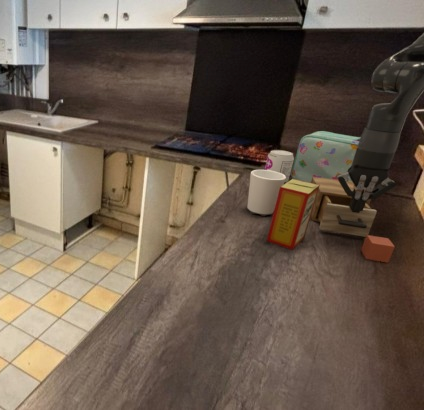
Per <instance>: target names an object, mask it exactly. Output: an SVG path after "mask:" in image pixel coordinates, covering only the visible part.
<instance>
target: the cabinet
mask: <svg viewBox="0 0 424 410" xmlns="http://www.w3.org/2000/svg"><path fill="white" fill-rule="evenodd" d="M311 183H313V184H318V185H320V186H319V189H318V193H317V196H316V200H315V203H314V206H313V210H312V213H311V216H310V219H311V221H313V222H319V223H320V221H319V219H318V217H317V212H318V209H319V205H320V202H321V199H322V196H323V194H325V195H332V196H340V197H347V198H352V197H351V196H348V195H347V194H346V192H345V191H344V189H343V188H342V186H341V184H340V183H339V181H338V180H335V179H326V178H318V177H312V181H311ZM346 183H347V184H348V186H349V188H350V189H351V190H352V191H353V185H354V183H353V182H351V181H347V182H346ZM371 201H372V199H368V200H367V201H366V203H367V204H368V206H369V207H370V204H371Z"/></svg>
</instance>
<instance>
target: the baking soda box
mask: <svg viewBox="0 0 424 410" xmlns="http://www.w3.org/2000/svg"><path fill="white" fill-rule="evenodd" d="M319 186H320V185H318V184H313V183H309V182H305V181H300V180H296V179H293V178H292V179H289V180H288V182H287V183H286V184H284V185H282V186H281V187H280V190H279V194H278V198H277V202H276V206H275V209H274V211H273V213H272V218H271V223H270V225H269V226H270V227H269V230H268V235H267V238H266V241H267V242H269V243H273V244H275V245H278V246H280V247H284V248H286V249H290V250H294V249H295V248H296V247H297V246H299V244H300V243H301V242H302V241H303V240H304V239H305V236H306V233H307V230H308V226H309V223H310V219H311V217H310V216H311V213H312V210H313V206H314V203H315V200H316V196H317V193H318V189H319Z"/></svg>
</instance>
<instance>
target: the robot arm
mask: <svg viewBox="0 0 424 410" xmlns="http://www.w3.org/2000/svg"><path fill="white" fill-rule="evenodd" d="M370 86H371V88H372V89H373V90H375V91H376V92H378V93H384V94H385V93H387V94H397V96H396V97H395V98H394V99H393V100H392V101H391V102H383V103H382V102H381V103H376V104H374V105H373V106H372V107H371V108H370V110H369V114H368V117H367V119H366V122H365V126H364V128H363V131H362V133H361V135H360V136H359V137H360V140H359V144H358V147H357V150H356V153H355V156H354V159H353V162H352V165H351V167H350V168H349V169H348V171H347V172H346V173H344V174H338V175H337V176H336V177H337V179H338V181H339V183H340V184H341V186H342V188H343V189H344V191H345V192H346V194H347V195H348V196H351V197H352V199H351V202H350V205H349V208H350V209H351V211H352V212H355V213H359V212H360V211H362V210H363V209H364V206H365V203H366V201H367V200H368V199H371V200H376V199H378V198H379V197H381V196H382V195H384V194H387V192H389V191H391V190H392V189H393V188H396V187H397V182H395V181H394V180H393V179H391V178H390V173H389V171H390V167H391V164H392V162H393V159H394V156H395V153H396V151H397V149H398V148H399V147H398V146H399V143H400V139H401V134H402V130H403V127H404V125H405V122H406V119H407V117H408V115H409V114H410V111H411V110H412V108H413V107H414V105H415V104H416V103H417V101H418V100H419V98H420V97H421V96H422V94H423V93H424V32H423V33H422V34H421V35H420V36H418V38H417V39H416V40H415V41H413V42H412V44H410V45H408V46H407V47H404V48H402V49H400V50H399V51H398V52H395V53H394V54H393V55H391V56H389V57H388V58H386V59H384V60H383V61H382V62H381V63H380V64H378V65H377V67H376V68H375V69H374V70H373V73H372V74H371V77H370ZM349 176H350V178H351V180H352V182H353V183H354V185H353V191H352V190H351V189H350V188H349V186H348V184H347V183H346V182H347V181H348V177H349Z"/></svg>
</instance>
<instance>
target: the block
mask: <svg viewBox="0 0 424 410" xmlns="http://www.w3.org/2000/svg"><path fill="white" fill-rule="evenodd" d="M364 238H365V239H364V241H363V244H362V246H361V249H360V252H361V253H362V255H363V256H364V258H365V260H368V261H369V260H370V261H375V262H380V261H381V262H380V263H387V264H389V262H390V260H391V257H392V255H393V253H394V250H395V248H396V247H395V245H394V244H393V242H392V241H391V240H390V238H387V237H382V236H376V235H369V234H368V235H367V236H366V237H364Z"/></svg>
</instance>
